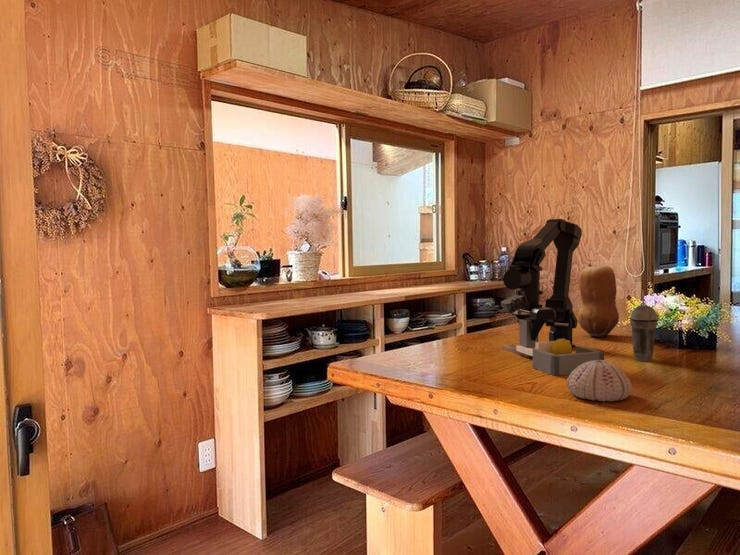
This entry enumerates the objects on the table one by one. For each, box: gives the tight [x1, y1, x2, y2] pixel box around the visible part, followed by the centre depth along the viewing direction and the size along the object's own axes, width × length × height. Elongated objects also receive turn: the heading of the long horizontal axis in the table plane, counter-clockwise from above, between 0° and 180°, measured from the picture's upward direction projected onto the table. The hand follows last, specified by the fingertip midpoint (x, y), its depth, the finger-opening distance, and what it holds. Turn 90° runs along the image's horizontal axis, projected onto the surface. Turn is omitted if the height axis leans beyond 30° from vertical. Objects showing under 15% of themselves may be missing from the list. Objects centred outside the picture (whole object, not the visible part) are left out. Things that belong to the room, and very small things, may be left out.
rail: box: [500, 343, 533, 359], centre depth 176 cm, size 4×16×1 cm, turn 16°
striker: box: [516, 319, 570, 356], centre depth 165 cm, size 10×15×10 cm, turn 16°
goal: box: [532, 345, 605, 377], centre depth 153 cm, size 15×10×5 cm, turn 106°
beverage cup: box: [629, 289, 659, 362], centre depth 162 cm, size 7×7×20 cm
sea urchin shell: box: [566, 359, 633, 402], centre depth 127 cm, size 13×14×8 cm
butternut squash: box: [577, 265, 620, 338], centre depth 200 cm, size 14×13×25 cm
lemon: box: [550, 338, 573, 355], centre depth 155 cm, size 6×6×8 cm
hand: (529, 339), depth 170 cm, fingers open, 4 cm apart
